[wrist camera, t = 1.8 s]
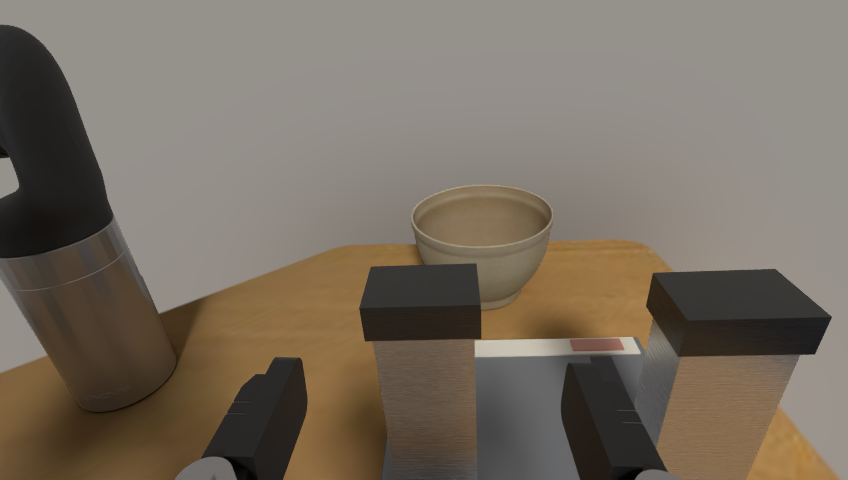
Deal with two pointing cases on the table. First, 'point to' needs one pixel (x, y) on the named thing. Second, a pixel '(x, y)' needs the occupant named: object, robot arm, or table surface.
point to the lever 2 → (720, 365)
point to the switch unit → (535, 402)
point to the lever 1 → (426, 365)
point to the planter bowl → (485, 235)
